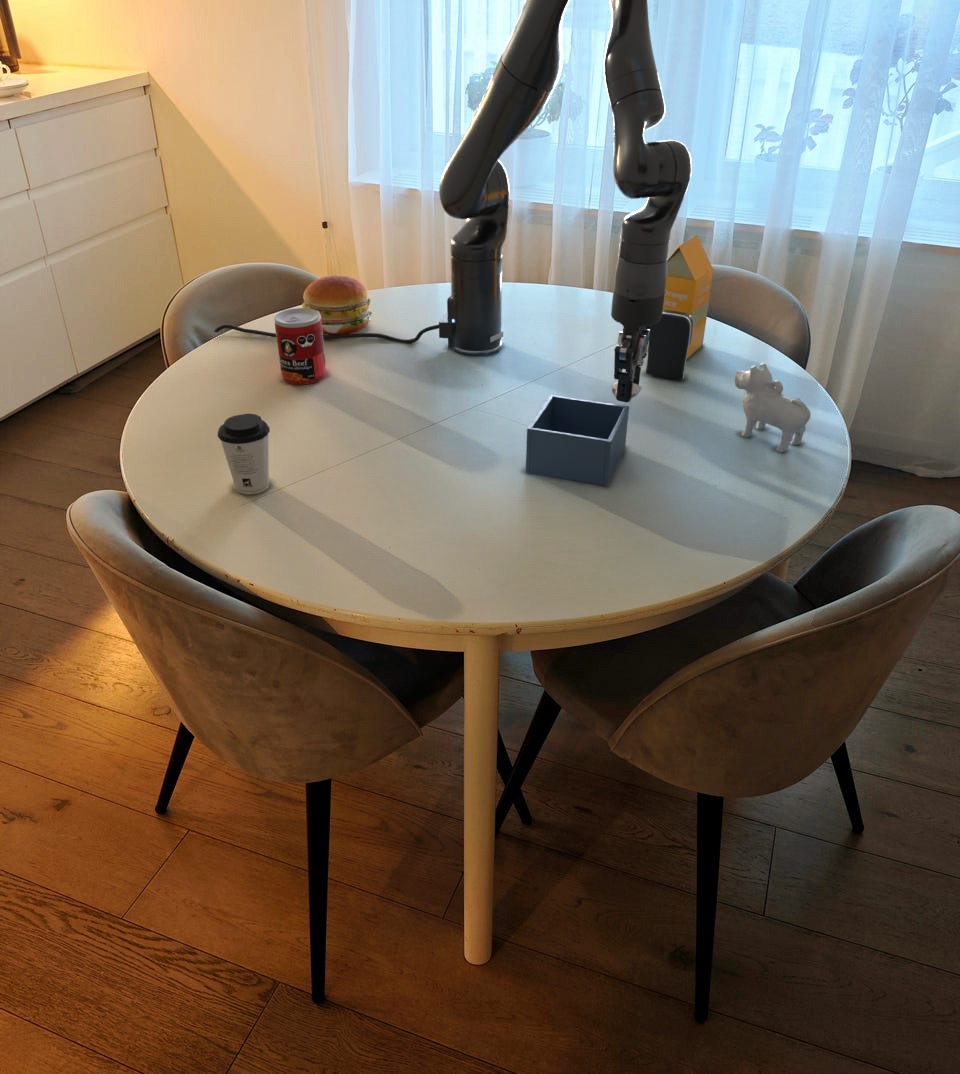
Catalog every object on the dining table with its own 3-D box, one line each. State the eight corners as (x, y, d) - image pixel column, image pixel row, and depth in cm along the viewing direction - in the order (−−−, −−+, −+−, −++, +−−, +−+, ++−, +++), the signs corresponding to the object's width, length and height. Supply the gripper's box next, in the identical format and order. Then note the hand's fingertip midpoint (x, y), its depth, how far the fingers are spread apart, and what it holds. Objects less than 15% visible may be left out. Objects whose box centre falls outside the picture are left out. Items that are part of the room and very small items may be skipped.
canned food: (273, 381, 157) (264, 320, 151) (297, 364, 163) (290, 305, 157) (311, 388, 155) (304, 326, 149) (334, 371, 161) (329, 311, 155)
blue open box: (526, 428, 127) (611, 441, 123) (550, 394, 136) (629, 406, 133) (525, 472, 130) (607, 486, 127) (548, 436, 140) (625, 448, 137)
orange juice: (703, 345, 171) (718, 237, 160) (686, 360, 165) (700, 249, 154) (664, 336, 175) (677, 231, 164) (646, 351, 169) (657, 242, 158)
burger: (368, 340, 173) (364, 289, 167) (297, 340, 173) (291, 289, 168) (376, 316, 184) (373, 267, 179) (309, 316, 184) (304, 267, 179)
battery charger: (688, 374, 160) (696, 311, 153) (682, 382, 157) (691, 318, 151) (649, 367, 162) (656, 305, 156) (643, 375, 159) (650, 312, 153)
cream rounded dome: (606, 393, 144) (608, 379, 142) (633, 388, 145) (635, 374, 144) (620, 404, 140) (622, 390, 139) (648, 399, 142) (650, 384, 141)
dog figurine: (739, 417, 146) (750, 354, 140) (809, 445, 137) (823, 379, 132) (718, 427, 143) (729, 363, 137) (789, 456, 135) (803, 389, 129)
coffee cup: (253, 504, 123) (242, 438, 118) (216, 490, 126) (204, 425, 121) (287, 482, 128) (279, 418, 123) (251, 469, 131) (241, 406, 126)
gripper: (626, 270, 139) (615, 373, 149) (601, 299, 128) (591, 408, 138) (674, 276, 137) (660, 381, 147) (653, 307, 126) (640, 417, 136)
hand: (627, 394), depth 142 cm, fingers closed on cream rounded dome, 4 cm apart
